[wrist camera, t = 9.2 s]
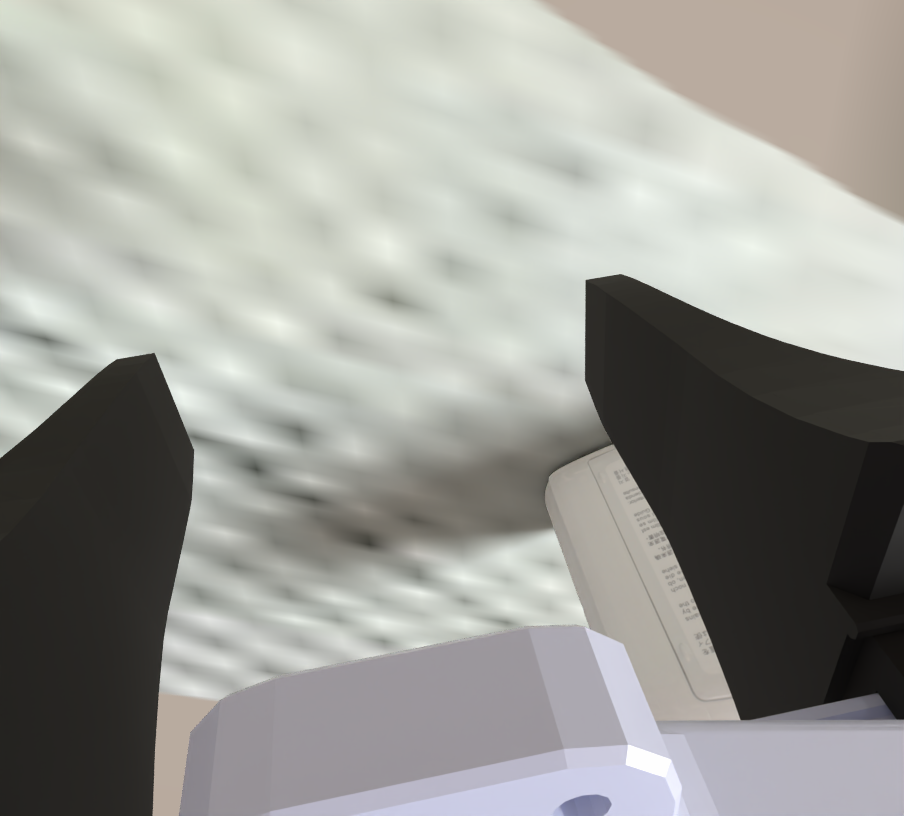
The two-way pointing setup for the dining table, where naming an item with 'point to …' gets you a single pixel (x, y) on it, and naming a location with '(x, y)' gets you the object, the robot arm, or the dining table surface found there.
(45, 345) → the dining table surface
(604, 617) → the photo printer
